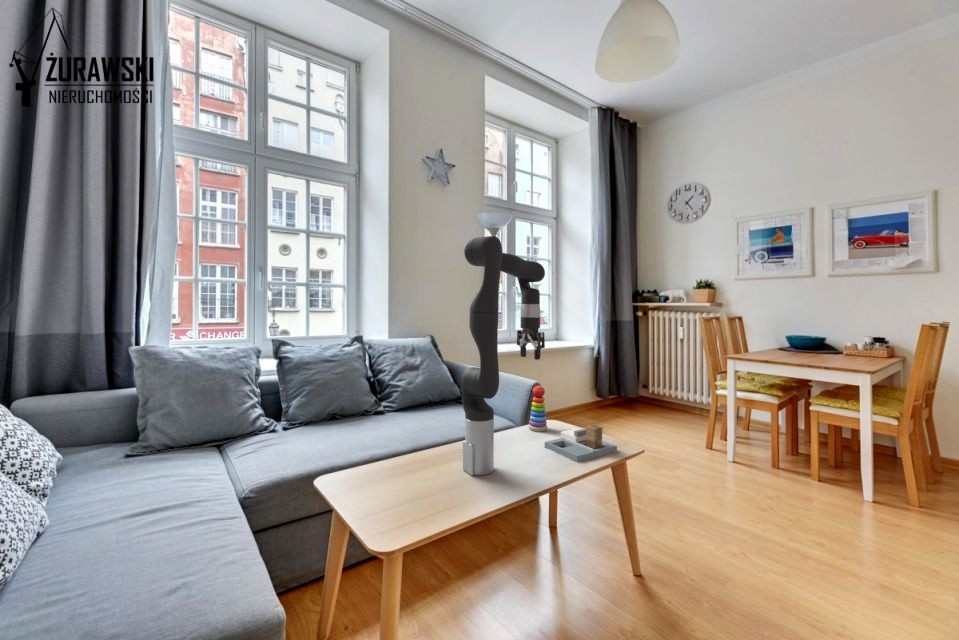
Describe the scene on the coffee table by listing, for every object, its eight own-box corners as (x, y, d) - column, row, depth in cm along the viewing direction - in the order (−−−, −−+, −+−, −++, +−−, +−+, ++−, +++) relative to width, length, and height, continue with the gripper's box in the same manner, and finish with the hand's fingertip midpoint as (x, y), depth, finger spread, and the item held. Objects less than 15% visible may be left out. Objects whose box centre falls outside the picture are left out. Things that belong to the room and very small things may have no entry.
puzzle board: (576, 462, 140) (577, 454, 140) (544, 447, 155) (544, 440, 155) (616, 451, 151) (617, 444, 151) (582, 438, 165) (583, 431, 165)
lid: (575, 442, 153) (575, 432, 153) (560, 436, 160) (560, 426, 160) (590, 438, 157) (590, 428, 157) (575, 433, 164) (575, 423, 164)
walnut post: (594, 453, 148) (594, 429, 148) (586, 450, 152) (586, 426, 151) (602, 451, 150) (602, 427, 150) (593, 448, 154) (594, 424, 153)
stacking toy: (548, 432, 173) (549, 388, 172) (529, 432, 173) (529, 387, 172) (546, 426, 181) (546, 384, 180) (527, 426, 181) (528, 384, 180)
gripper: (511, 315, 161) (511, 356, 162) (534, 316, 149) (534, 361, 150) (526, 315, 165) (526, 355, 166) (550, 316, 153) (549, 359, 154)
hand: (530, 358), depth 158 cm, fingers open, 8 cm apart
